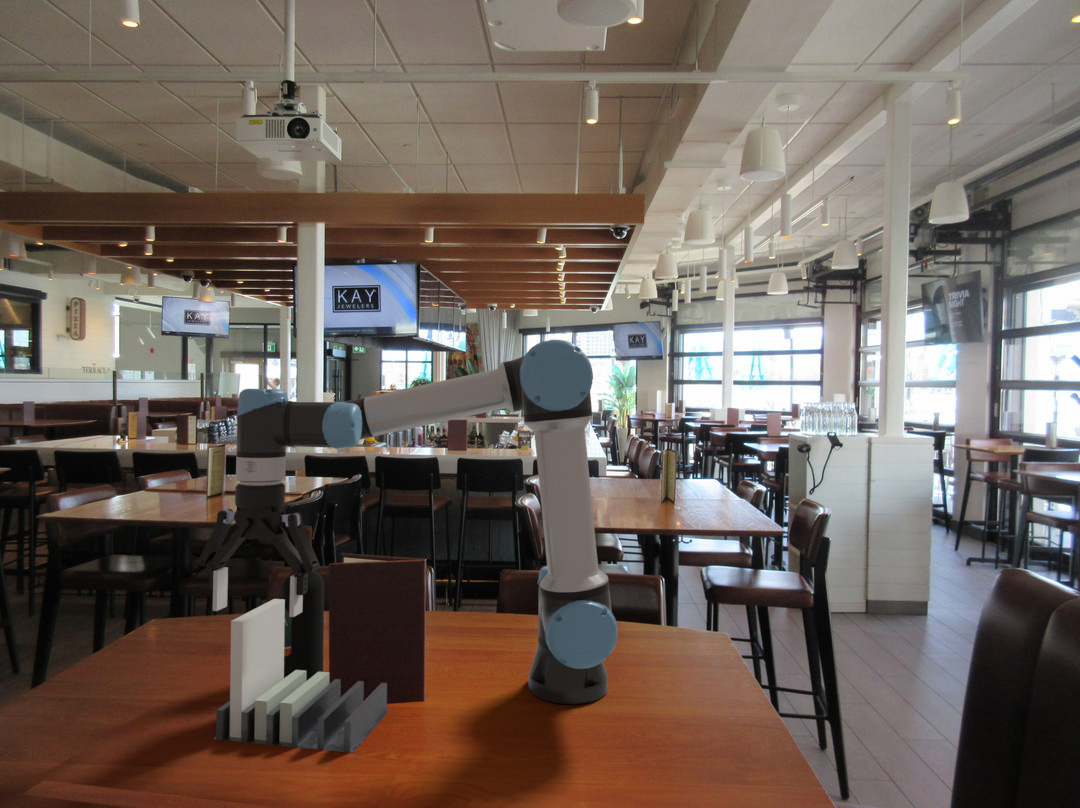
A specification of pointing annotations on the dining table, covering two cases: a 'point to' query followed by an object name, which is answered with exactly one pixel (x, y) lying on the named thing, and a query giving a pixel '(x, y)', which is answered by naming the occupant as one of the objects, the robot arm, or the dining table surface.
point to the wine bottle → (305, 626)
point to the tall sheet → (255, 657)
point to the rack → (317, 720)
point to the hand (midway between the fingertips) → (257, 611)
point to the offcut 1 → (275, 700)
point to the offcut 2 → (299, 702)
